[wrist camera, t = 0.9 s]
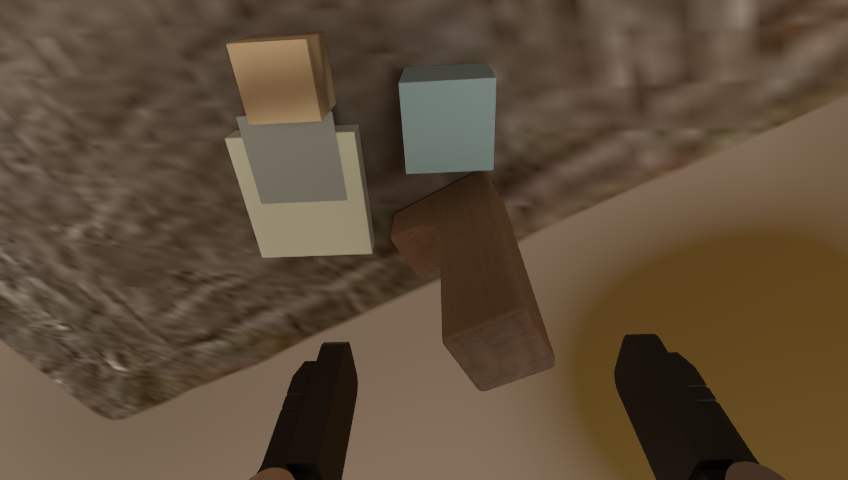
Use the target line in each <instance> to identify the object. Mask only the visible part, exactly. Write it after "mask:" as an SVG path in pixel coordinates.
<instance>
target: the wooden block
mask: <svg viewBox="0 0 848 480" xmlns="http://www.w3.org/2000/svg"><path fill="white" fill-rule="evenodd" d="M391 241H392V242H393V243H394V245H395V246H396V248H397V249H398V250H399V252H400V253H401V255H402V256H403V257H404V259H405V260H406V262H407V263H408V264H409V266H410V267H411V268H412V270H413V271H414V273H415V274H416V275H422V274H425V273H428V272H431V271H434V270H437V269H440V268H441V302H442V303H441V304H442V339H443V343H444V345H445V347H446V348H447V349H448V351H449V352H450V353H451V355H452V356H453V357H454V358H455V360H456V361H457V362H458V363H459V365H460V366H461V368H462V369H463V370H464V372H465V373H466V374H467V375H468V377H469V378H470V379H471V380H472V382H473V383H474V385H475V386H476V387H477V389H478V390H480V391H487V390H490V389H493V388H496V387H498V386H501V385H504V384H507V383H510V382H513V381H516V380H518V379H521V378H524V377H527V376H530V375H533V374H536V373H539V372H541V371H544V370H547V369H550V368H552V367H553V366H554V365H555V356H554V353H553V350H552V347H551V344H550V342H549V338H548V335H547V332H546V329H545V326H544V323H543V320H542V317H541V314H540V311H539V308H538V305H537V302H536V299H535V296H534V293H533V290H532V287H531V284H530V280H529V278H528V274H527V271H526V268H525V265H524V262H523V259H522V257H521V253H520V250H519V248H518V244H517V241H516V238H515V235H514V232H513V229H512V226H511V223H510V220H509V217H508V214H507V211H506V208H505V205H504V203H503V201H502V199H501V198H500V196H499V194H498V192H497V190H496V188H495V186H494V184H493V183H492V181H491V179H490V177H489V175H488V173H487V171H476V172H475V173H473V174H471V175H469V176H467V177H465V178H463V179H461V180H459V181H457V182H455V183H453V184H451V185H449V186H447V187H445V188H443V189H441V190H440V191H438V192H436V193H434V194H432V195H430V196H428V197H426V198H424V199H422V200H420V201H418V202H416V203H414V204H412V205H411V206H409V207H407V208H405V209H403V210H401V211H399V212H397V213H396V214H395V215H394V220H393V226H392V231H391Z"/></svg>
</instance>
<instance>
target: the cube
mask: <svg viewBox="0 0 848 480" xmlns="http://www.w3.org/2000/svg"><path fill="white" fill-rule="evenodd" d="M398 84H399V95H400V107H401V119H402V130H403V142H404V154H405V166H406V174H420V173H441V172H463V171H485V170H493V165H494V135H495V105H496V76H495V75H494V73H493V72H492V71H491V69H490V68H489V66H488V65H487V63H470V64H453V65H436V66H419V67H404V70H403V72H402V75H401V78H400V80H399V83H398Z"/></svg>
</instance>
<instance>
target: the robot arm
mask: <svg viewBox="0 0 848 480" xmlns="http://www.w3.org/2000/svg"><path fill="white" fill-rule="evenodd" d="M614 376H615V384H616V388H617V391H618V393H619V396H620V398H621V400H622V402H623V405H624V407H625V409H626V411H627V414H628V416H629V418H630V421H631V423H632V425H633V428H634V430H635V432H636V434H637V437H638V439H639V441H640V444H641V446H642V448H643V450H644V453H645V455H646V457H647V459H648V462H649V464H650V466H651V469H652V471H653V473H654V476H655V478H656V480H785V479H784V478H783V477H782V476H781V475H779V474H778V473H776V472H775V471H773V470H771V469H769V468H767V467H765V466H763V465H760V464H759V462H758V461H757V460H756V459H755V457H754V456H753V454H752V453H751V451H750V450H749V448H748V447H747V445H746V444H745V442H744V441H743V439H742V438H741V436H740V435H739V433H738V432H737V430H736V429H735V427H734V426H733V424H732V423H731V421H730V420H729V418H728V416H727V415H726V414H725V412H724V411H723V409H722V407H721V406H720V404H719V403H717V402H716V398H715V397H714V395H713V394H712V392H711V391H710V389H709V388H707V387H706V383H705V382H704V380H703V379H702V377H701V376H700V374H699V373H698V371H697V370H696V368H695V367H694V366H693V365H692V364H690V363H689V362H688V361H687V360H686V359H685V358H683V357H682V356H681V355H680V354H679V353H678V352H677V353H676V352H674V353H668V351H667V350H666V348H665V347H664V345H663V343H662V342H661V340H660V339H659V337H658V336H657V335H655V334H631V335H625V337H624V339H623V342H622V346H621V349H620V352H619V356H618V359H617V363H616V367H615V372H614ZM357 387H358V380H357V373H356V368H355V364H354V360H353V356H352V351H351V347H350V344H349V342H329V343H328V342H325V343H323V344H322V346H321V348H320V351H319V355H318V358H317V361H305V362H304V363H303V364H302V366H301V367H300V368H299V370H298V371H297V372H296V373H295V374H294V376H293V377H292V381H291V383H290V386H289V389H288V392H287V396H286V398H285V400H284V403H283V406H282V410H281V412H280V415H279V418H278V420H277V423H276V426H275V429H274V432H273V435H272V438H271V441H270V443H269V446H268V449H267V452H266V455H265V458H264V461H263V463H262V465H261V467H260V469H259V471H258V472H257V474H256V475H254V476H253V477H251V478H250V479H249V480H341V479H342V474H343V468H344V464H345V458H346V452H347V447H348V441H349V436H350V430H351V425H352V420H353V414H354V408H355V403H356V397H357V389H358V388H357Z"/></svg>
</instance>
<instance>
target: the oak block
mask: <svg viewBox="0 0 848 480" xmlns="http://www.w3.org/2000/svg"><path fill="white" fill-rule="evenodd" d="M226 45H227V49H228V52H229V56H230V60H231V63H232V67H233V70H234V74H235V77H236V81H237V85H238V88H239V92H240V95H241V99H242V102H243V106H244V109H245V113H246V117H247V120H248V124H249V125H258V124H277V123H296V122H316V121H322V120H323V119H324V118H325V116H326V115H327V114H328V113H329V112H330V111H331V109H332V108H333V107H334V106H335V105H336V99H335V93H334V87H333V81H332V75H331V69H330V62H329V56H328V50H327V44H326V38H325V32H313V33H297V34H281V35H265V36H254V37H251V38H247V39H243V40H239V41H235V42H232V43H228V44H226Z"/></svg>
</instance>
